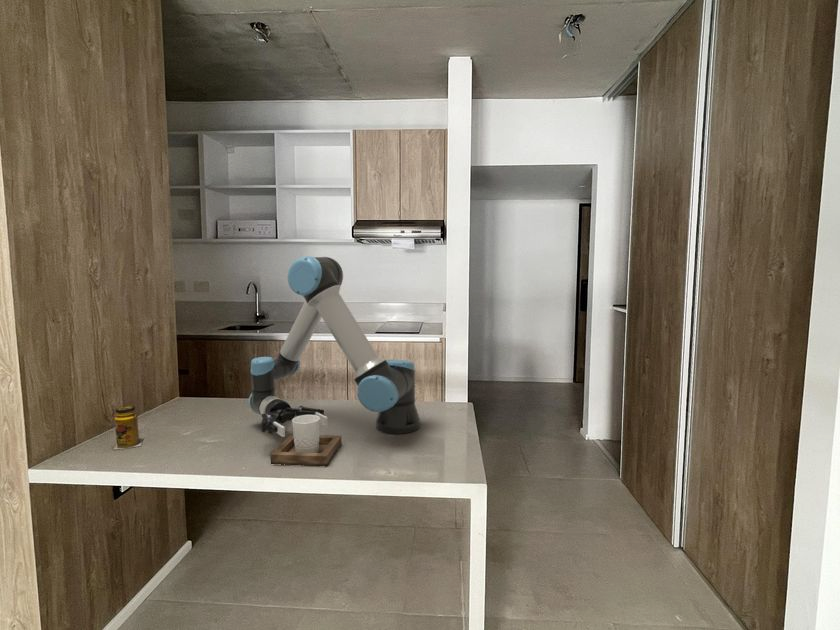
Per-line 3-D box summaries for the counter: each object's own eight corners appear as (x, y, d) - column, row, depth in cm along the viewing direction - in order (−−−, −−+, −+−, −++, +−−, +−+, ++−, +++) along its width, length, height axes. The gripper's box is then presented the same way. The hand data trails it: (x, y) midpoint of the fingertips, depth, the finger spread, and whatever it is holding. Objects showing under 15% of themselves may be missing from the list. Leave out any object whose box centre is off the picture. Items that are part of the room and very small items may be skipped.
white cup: (325, 448, 146) (324, 416, 145) (311, 458, 139) (310, 424, 137) (302, 445, 148) (301, 413, 147) (287, 455, 141) (286, 421, 140)
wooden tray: (341, 445, 151) (341, 435, 150) (326, 466, 135) (326, 456, 135) (291, 443, 152) (290, 434, 152) (270, 464, 137) (270, 454, 136)
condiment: (113, 450, 148) (110, 412, 147) (118, 441, 156) (115, 404, 155) (140, 446, 151) (137, 408, 150) (144, 437, 159) (141, 401, 157)
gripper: (311, 413, 167) (343, 429, 151) (237, 430, 151) (264, 450, 135) (310, 392, 166) (342, 406, 150) (236, 406, 151) (263, 423, 134)
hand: (305, 426), depth 143 cm, fingers open, 13 cm apart
